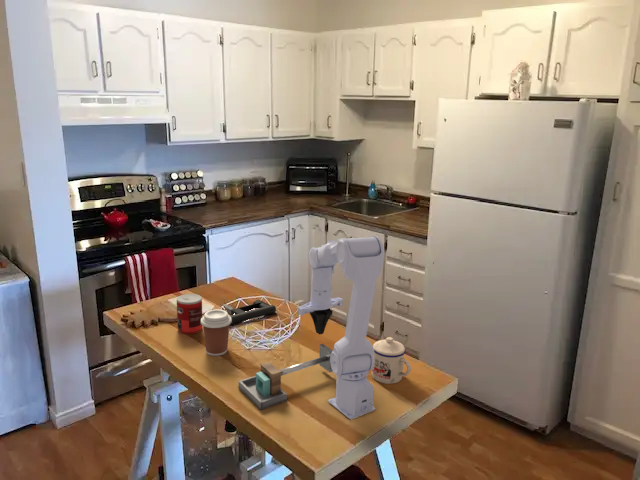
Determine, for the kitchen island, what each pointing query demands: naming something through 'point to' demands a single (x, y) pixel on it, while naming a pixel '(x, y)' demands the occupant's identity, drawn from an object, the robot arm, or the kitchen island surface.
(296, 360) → the kitchen island surface
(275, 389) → the bearing block
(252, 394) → the tray
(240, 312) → the door handle
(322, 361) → the shaft
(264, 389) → the block
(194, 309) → the canned food
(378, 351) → the teacup with lid
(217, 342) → the coffee cup
